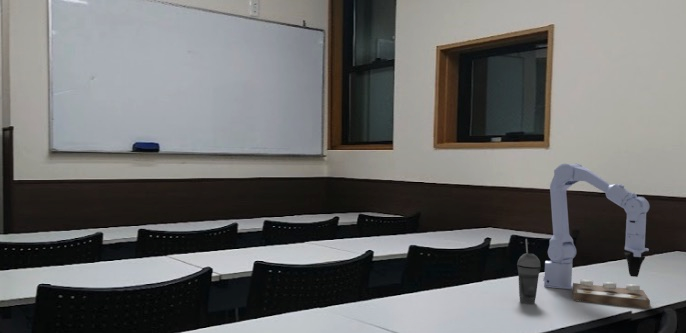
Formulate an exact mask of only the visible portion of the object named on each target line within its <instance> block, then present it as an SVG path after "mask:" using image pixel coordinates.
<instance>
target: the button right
mask: <svg viewBox="0 0 686 333" xmlns="http://www.w3.org/2000/svg"><path fill="white" fill-rule="evenodd" d="M625 286H626V287H625V288H626V290H628V291H635V292H638V291H640V290H641V285H639V284H634V283H626V284H625Z"/></svg>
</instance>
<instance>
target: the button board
mask: <svg viewBox="0 0 686 333" xmlns="http://www.w3.org/2000/svg"><path fill="white" fill-rule="evenodd" d="M572 286H573V289H572V293H573V294H572V295H573V301H578V302H585V303H595V304H602V305H610V306H611V305H614V306H620V307H621V306H623V307H631V308H640V309H649V310H650V309H651V308H650V306H651V304H650V303H651V301H650V299H649V297H648V296H647V294H646V292H645V291H644V289H640V291H638V292H635V291H628V290H626V287H617V286H616V289H607V288H603V285H595V284H593V287H585V286H581V285H580V283H578V282H576V283H574V282H572Z"/></svg>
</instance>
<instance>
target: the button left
mask: <svg viewBox="0 0 686 333" xmlns="http://www.w3.org/2000/svg"><path fill="white" fill-rule="evenodd" d="M579 284H580V285H581V286H585V287H593V285H594V280H591V279H584V278H583V279H580V281H579Z"/></svg>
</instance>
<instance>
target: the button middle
mask: <svg viewBox="0 0 686 333" xmlns="http://www.w3.org/2000/svg"><path fill="white" fill-rule="evenodd" d="M602 286H603V288H607V289H616V287H617V282H612V281H602Z"/></svg>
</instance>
